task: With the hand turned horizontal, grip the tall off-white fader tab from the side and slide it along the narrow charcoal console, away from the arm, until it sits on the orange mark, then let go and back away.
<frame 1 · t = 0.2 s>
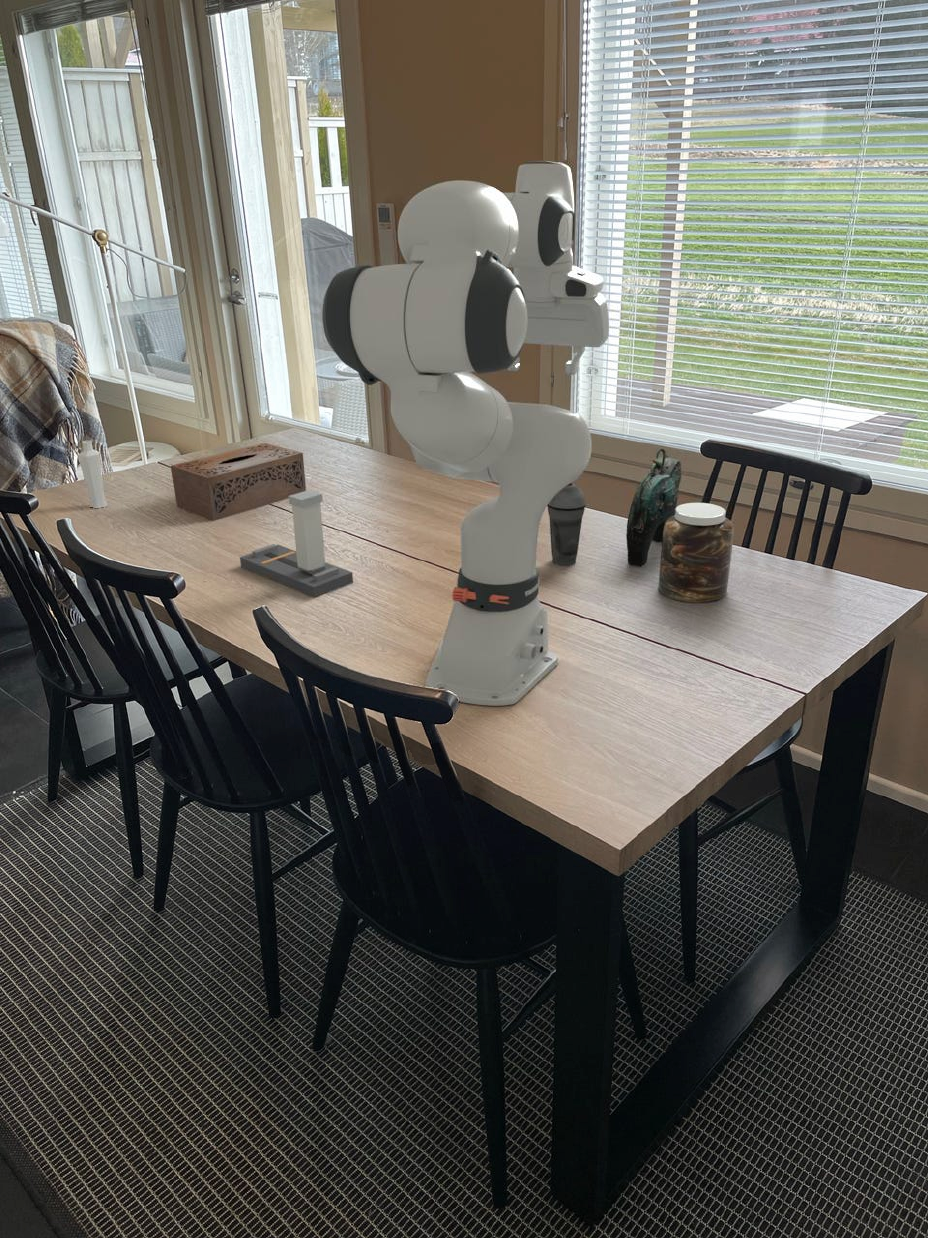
hand: (542, 371, 147), 39 cm above the table, tool pointing down, fingers open, 8 cm apart
fader tab: (308, 532, 167), point 9 cm above the table, slide at -5.0 cm
tissue box cover: (243, 501, 215), on the table
perfume bottle: (100, 506, 212), on the table
fader console: (295, 574, 174), on the table
jar: (692, 591, 166), on the table
beverage cup: (564, 562, 178), on the table
dark green arched sculpture: (651, 552, 183), on the table
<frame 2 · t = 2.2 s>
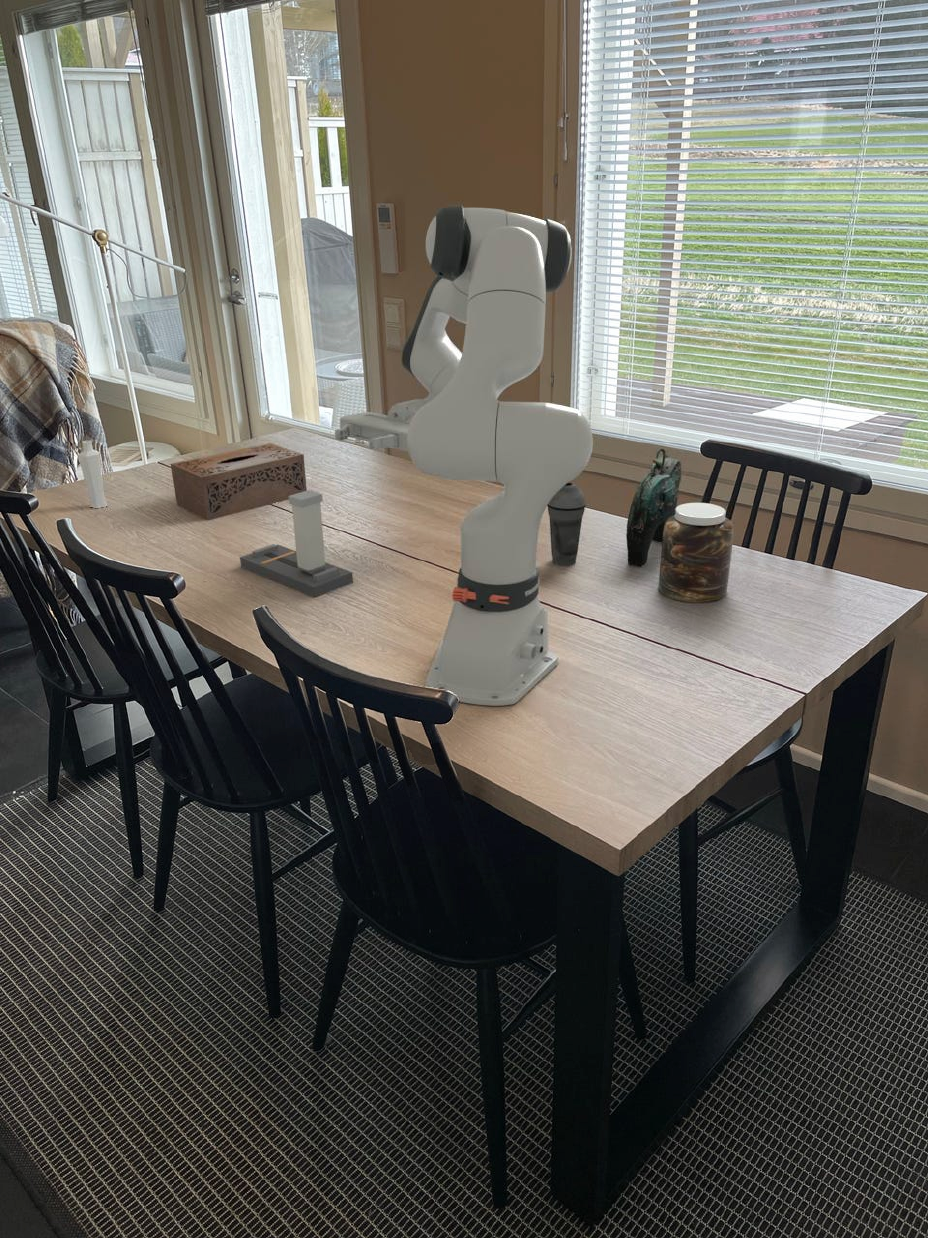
hand: (354, 439, 169), 24 cm above the table, tool horizontal, fingers open, 8 cm apart
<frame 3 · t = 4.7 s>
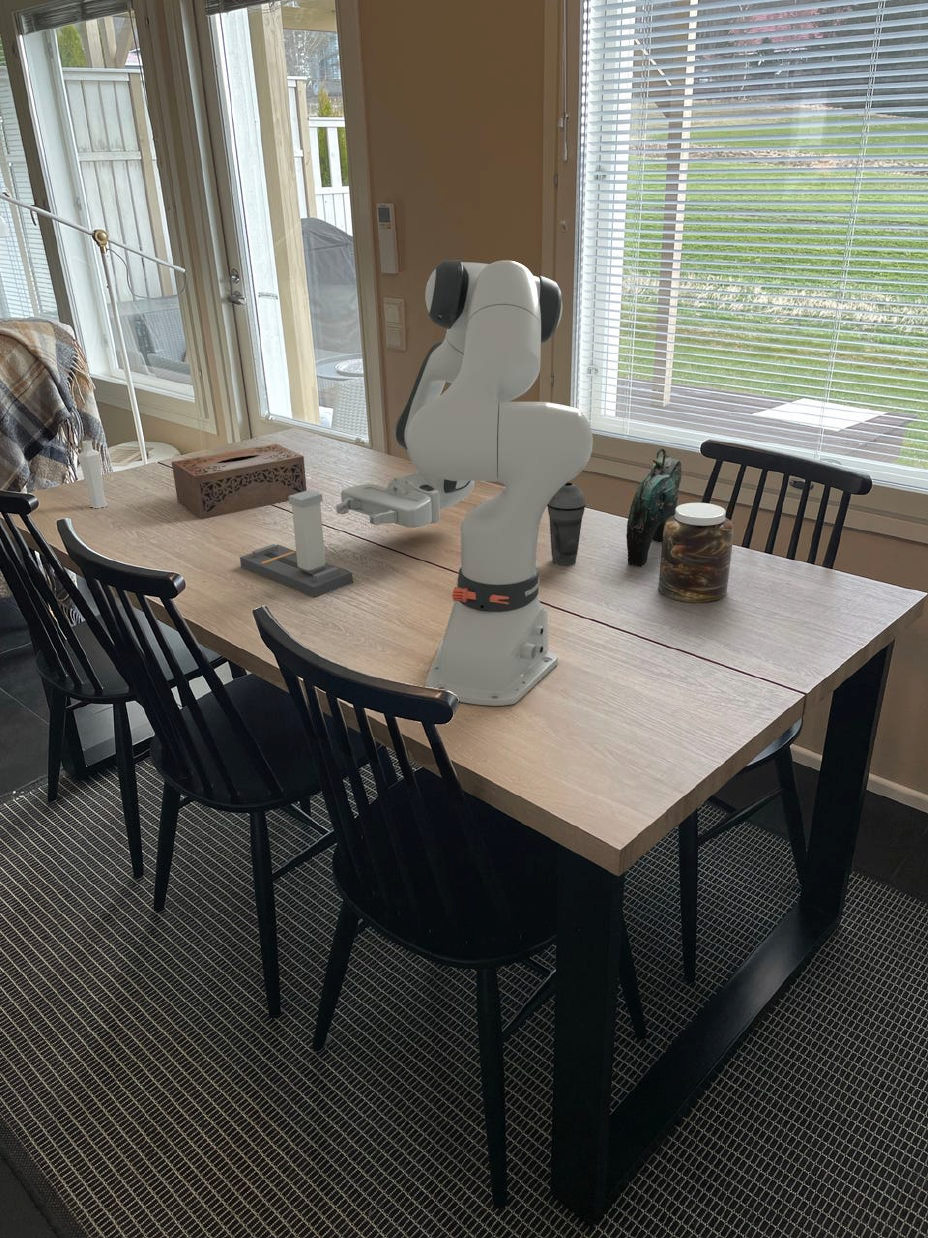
hand: (355, 515, 174), 10 cm above the table, tool horizontal, fingers open, 8 cm apart
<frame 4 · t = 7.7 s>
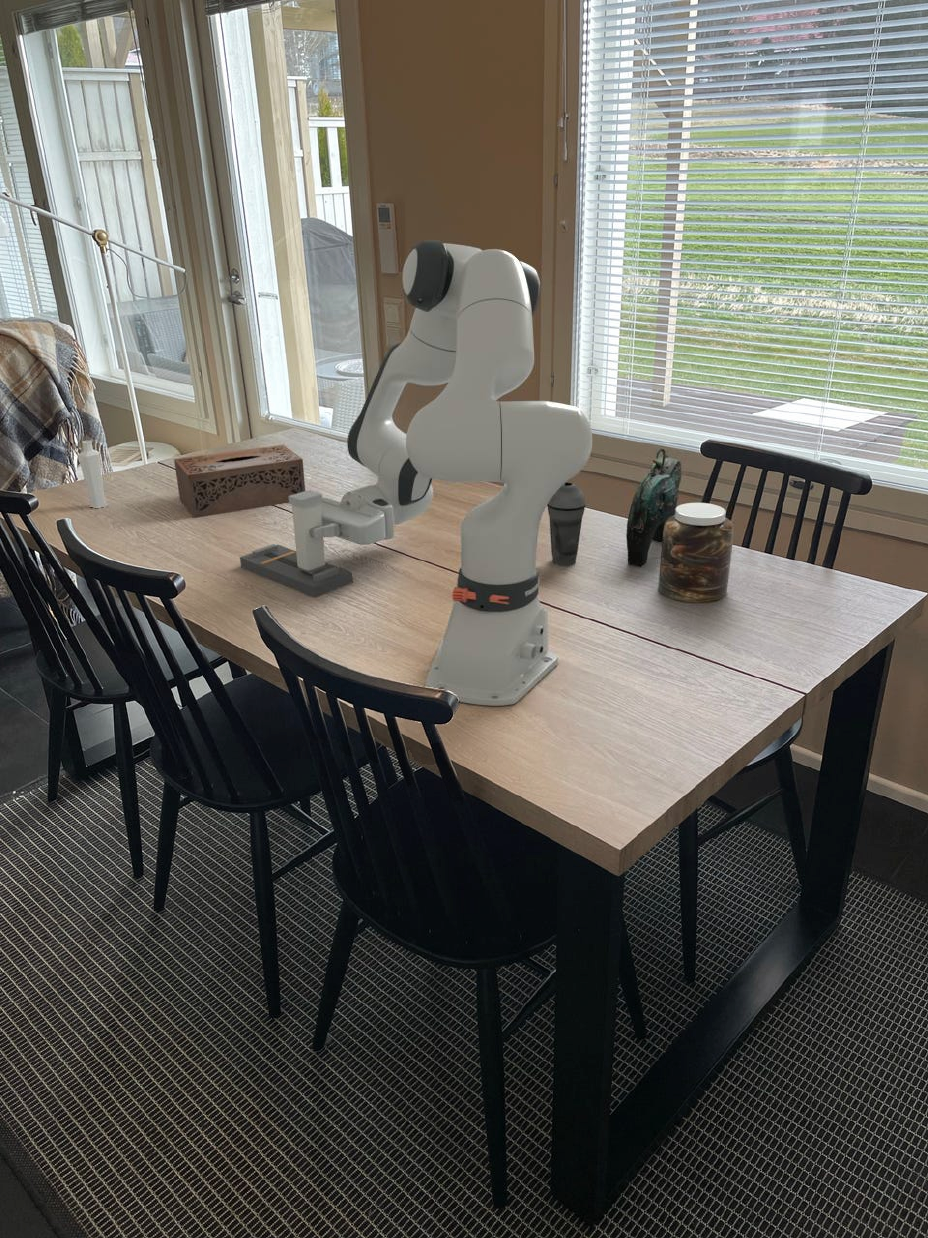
hand: (304, 531, 166), 10 cm above the table, tool horizontal, fingers closed on fader tab, 3 cm apart
fader tab: (308, 532, 167), point 9 cm above the table, slide at -5.0 cm, touching gripper
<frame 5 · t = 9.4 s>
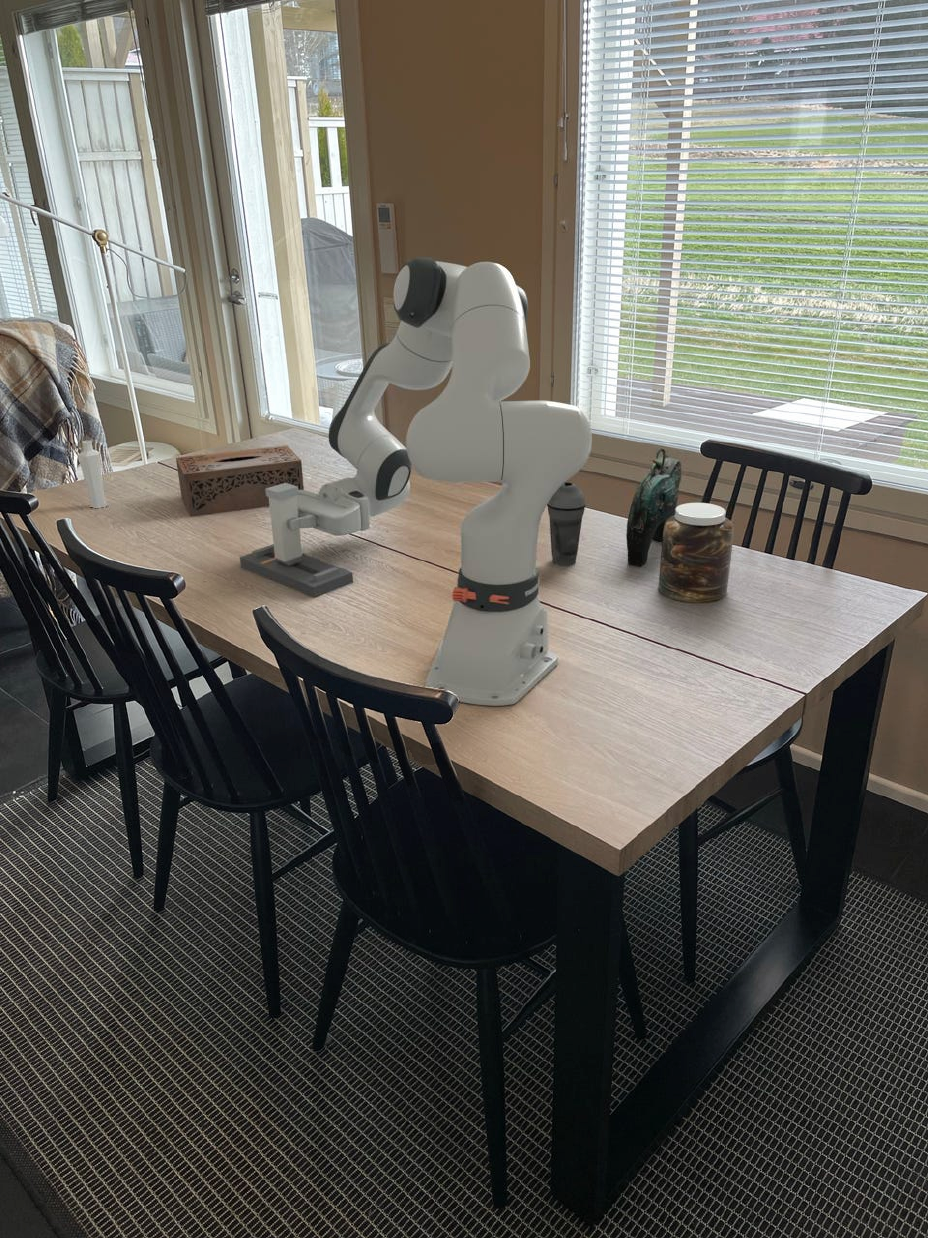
hand: (281, 522, 170), 10 cm above the table, tool horizontal, fingers closed on fader tab, 3 cm apart
fader tab: (285, 524, 171), point 9 cm above the table, slide at 1.7 cm, touching gripper
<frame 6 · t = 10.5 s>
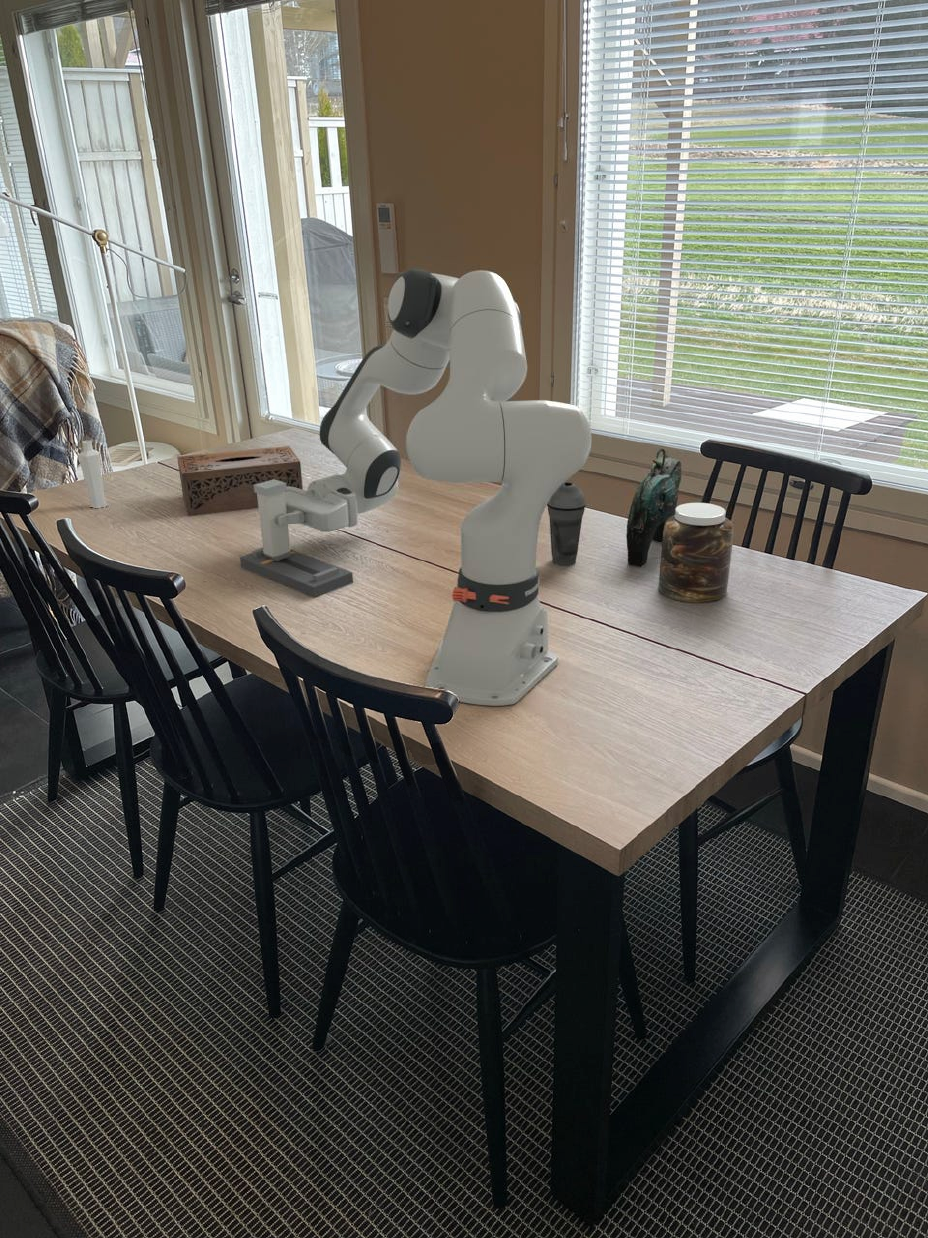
hand: (270, 518, 172), 10 cm above the table, tool horizontal, fingers closed on fader tab, 3 cm apart
fader tab: (273, 520, 173), point 9 cm above the table, slide at 5.2 cm, touching gripper
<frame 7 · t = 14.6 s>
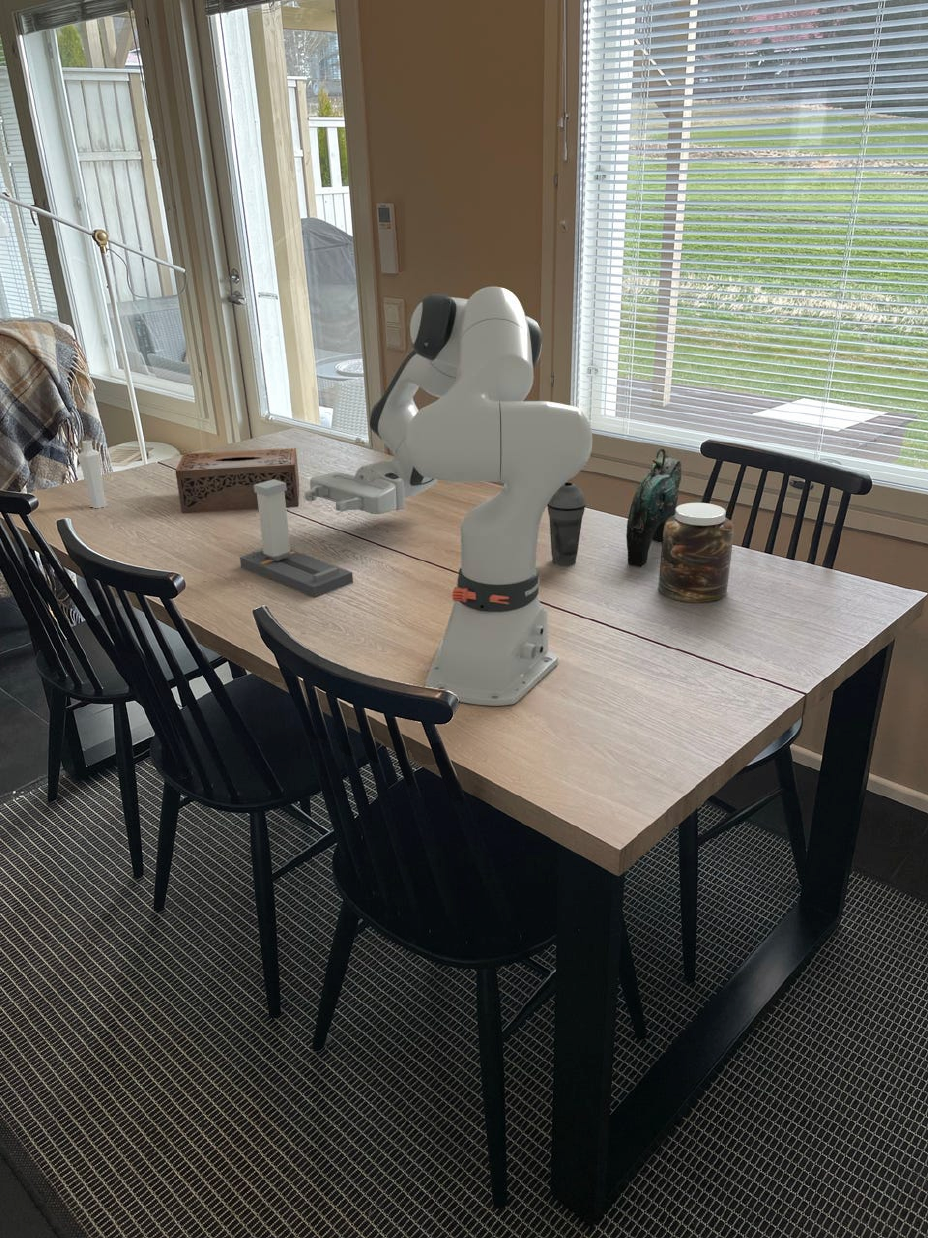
hand: (322, 501, 181), 10 cm above the table, tool horizontal, fingers open, 8 cm apart
fader tab: (273, 520, 173), point 9 cm above the table, slide at 5.2 cm
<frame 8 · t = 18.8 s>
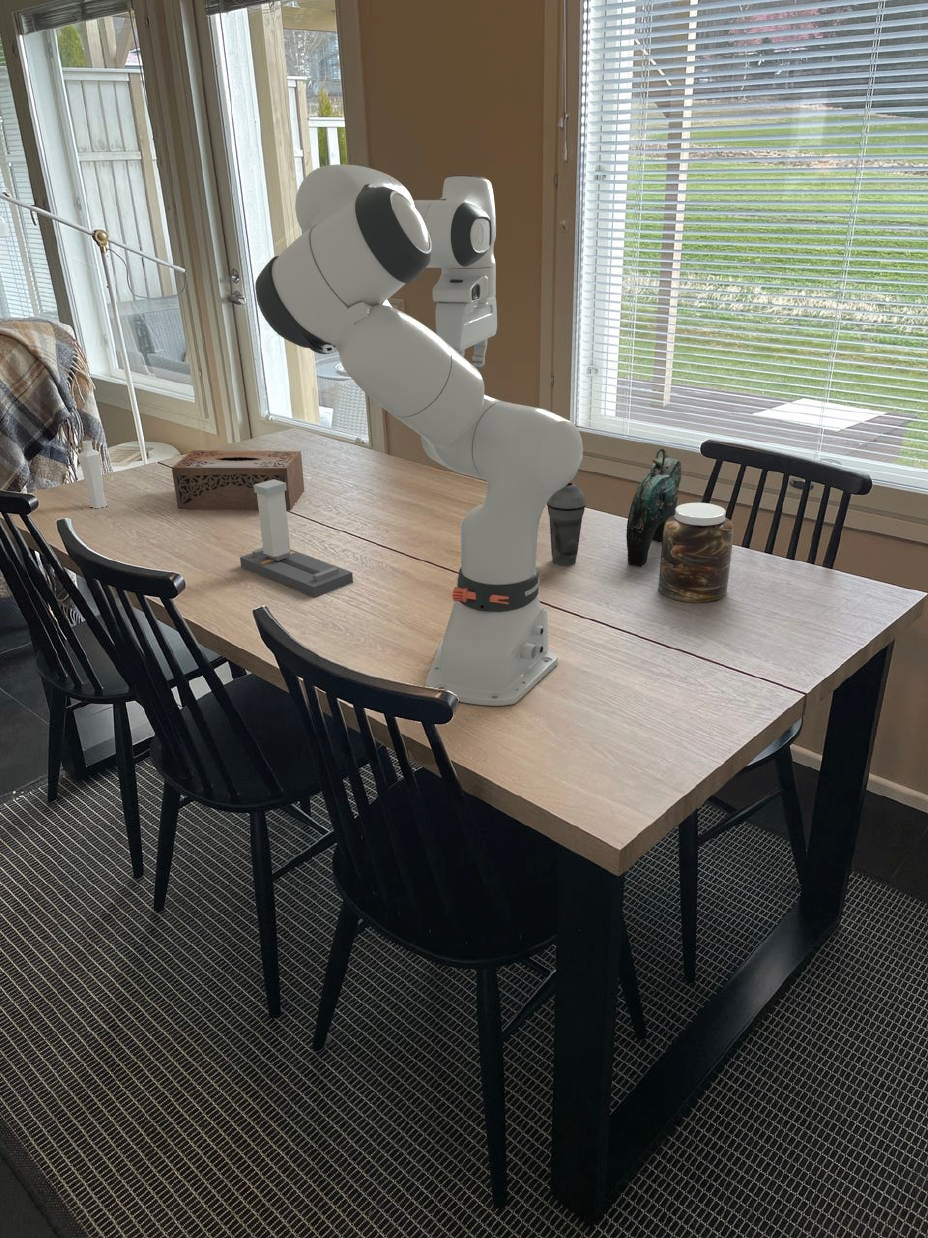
hand: (469, 371, 158), 37 cm above the table, tool pointing down, fingers open, 8 cm apart
at the end: fader tab slide at 5.2 cm; the gripper is holding nothing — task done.
